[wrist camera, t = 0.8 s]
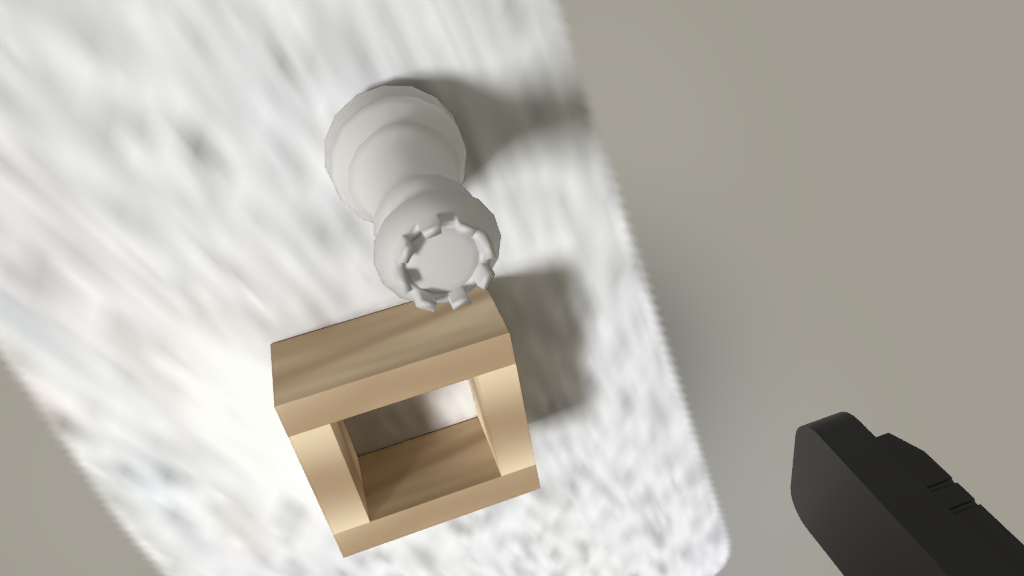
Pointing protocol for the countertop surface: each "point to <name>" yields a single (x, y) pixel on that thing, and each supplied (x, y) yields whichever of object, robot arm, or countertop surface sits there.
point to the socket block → (392, 378)
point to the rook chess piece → (413, 195)
